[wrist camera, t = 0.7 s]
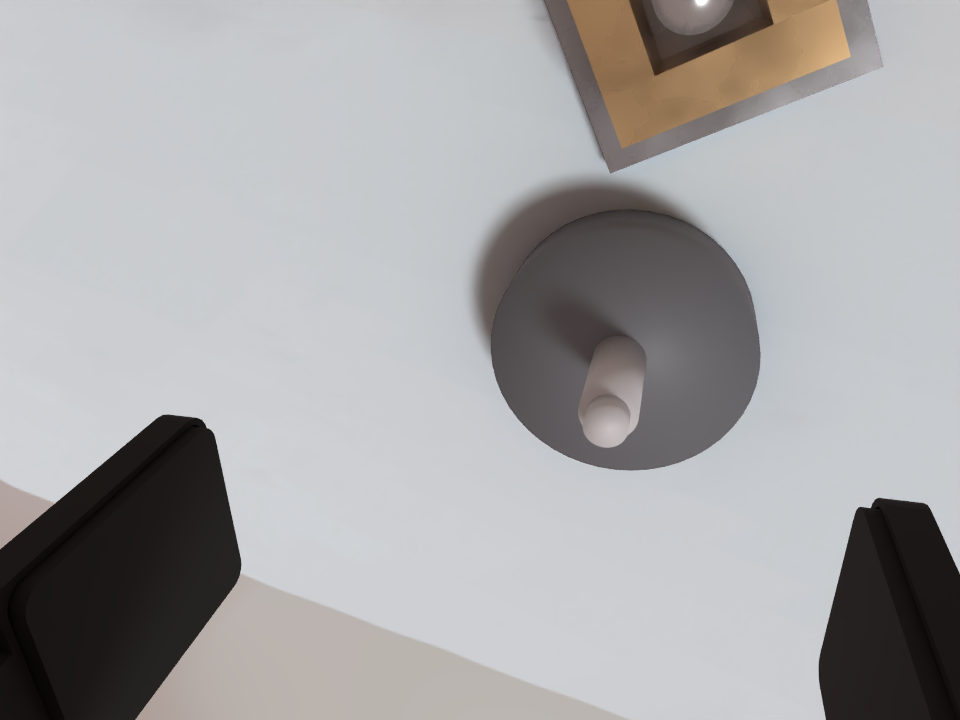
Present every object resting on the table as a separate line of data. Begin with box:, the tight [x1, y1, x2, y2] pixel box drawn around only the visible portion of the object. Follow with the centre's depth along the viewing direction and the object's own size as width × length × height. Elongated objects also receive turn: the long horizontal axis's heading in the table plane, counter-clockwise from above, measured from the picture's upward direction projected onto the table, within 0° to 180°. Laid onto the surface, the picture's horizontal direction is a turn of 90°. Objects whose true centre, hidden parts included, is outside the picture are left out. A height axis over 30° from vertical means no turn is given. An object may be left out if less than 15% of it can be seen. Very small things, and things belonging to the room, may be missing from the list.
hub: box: [491, 210, 760, 470], centre depth 30 cm, size 11×11×8 cm
